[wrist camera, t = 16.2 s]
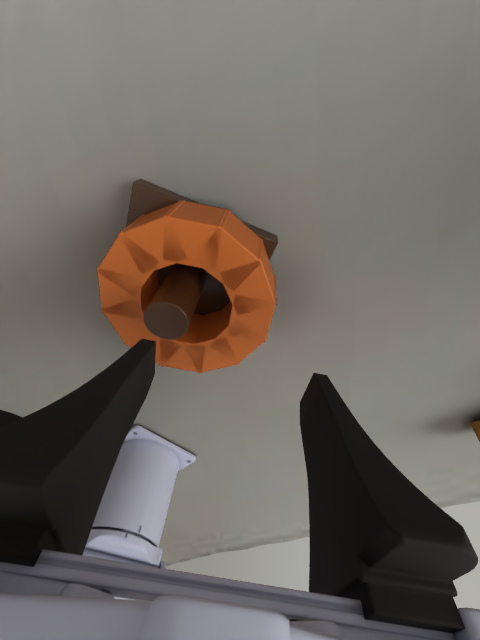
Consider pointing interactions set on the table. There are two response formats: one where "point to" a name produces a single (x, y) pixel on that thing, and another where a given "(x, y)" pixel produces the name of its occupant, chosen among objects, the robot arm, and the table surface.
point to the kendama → (476, 428)
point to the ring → (198, 251)
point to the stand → (181, 273)
